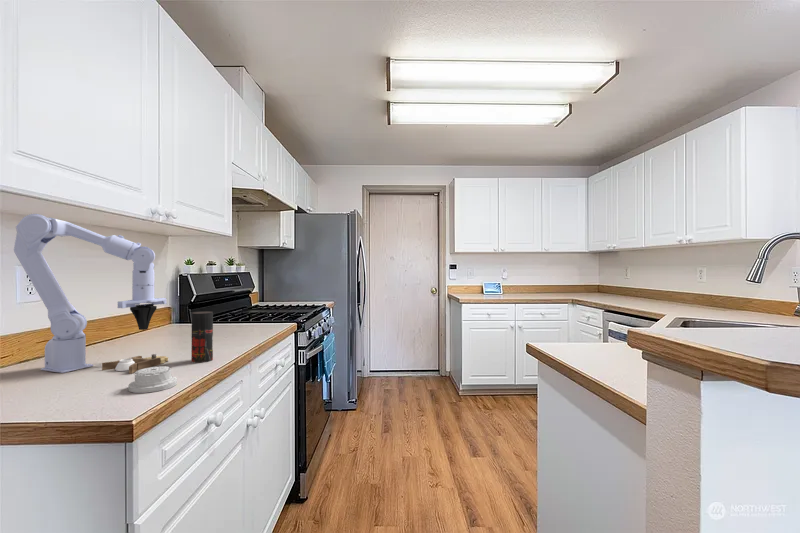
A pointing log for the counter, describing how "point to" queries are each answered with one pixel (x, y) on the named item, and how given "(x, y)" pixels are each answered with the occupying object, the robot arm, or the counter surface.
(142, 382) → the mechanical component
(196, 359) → the deodorant
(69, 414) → the counter surface
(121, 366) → the white jar
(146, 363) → the gear station
